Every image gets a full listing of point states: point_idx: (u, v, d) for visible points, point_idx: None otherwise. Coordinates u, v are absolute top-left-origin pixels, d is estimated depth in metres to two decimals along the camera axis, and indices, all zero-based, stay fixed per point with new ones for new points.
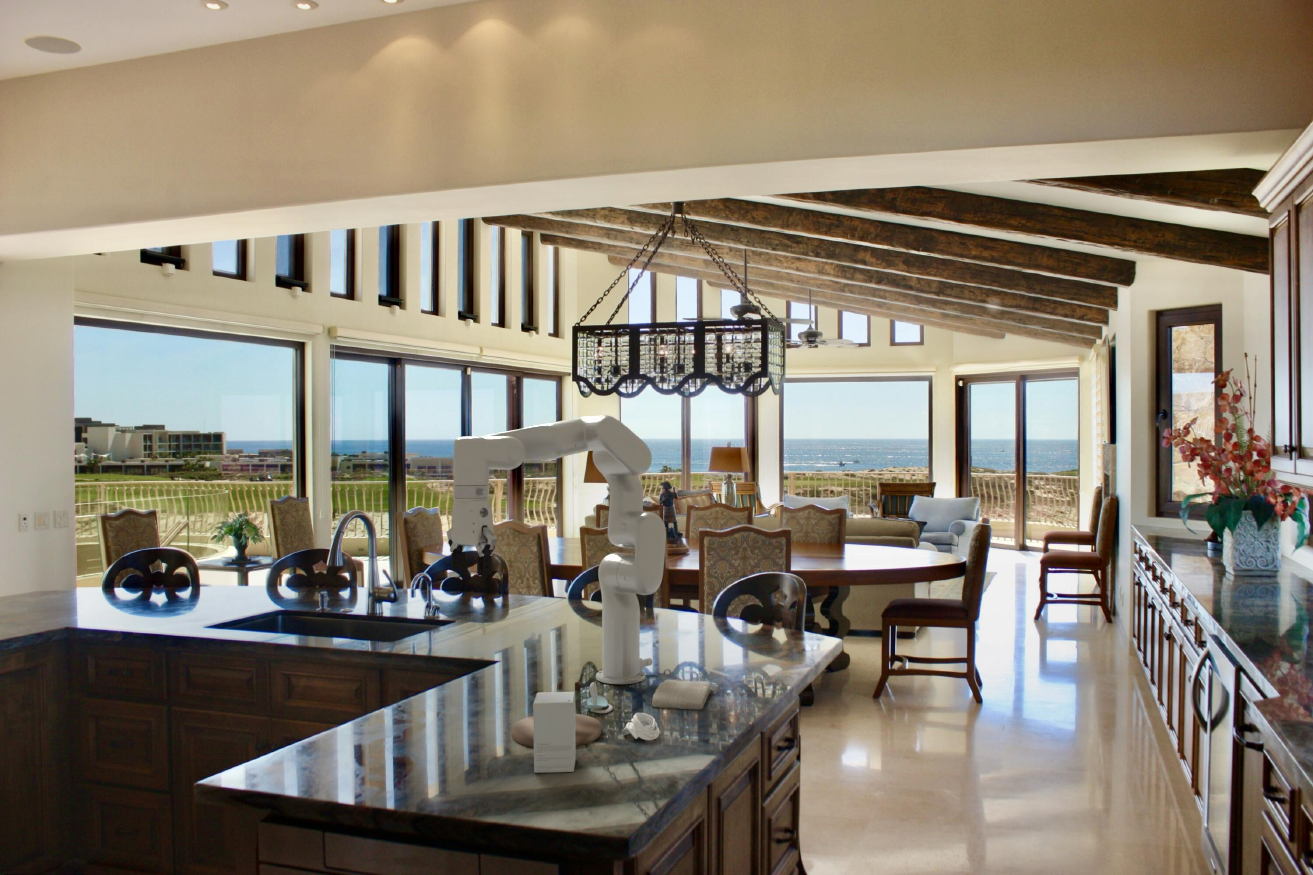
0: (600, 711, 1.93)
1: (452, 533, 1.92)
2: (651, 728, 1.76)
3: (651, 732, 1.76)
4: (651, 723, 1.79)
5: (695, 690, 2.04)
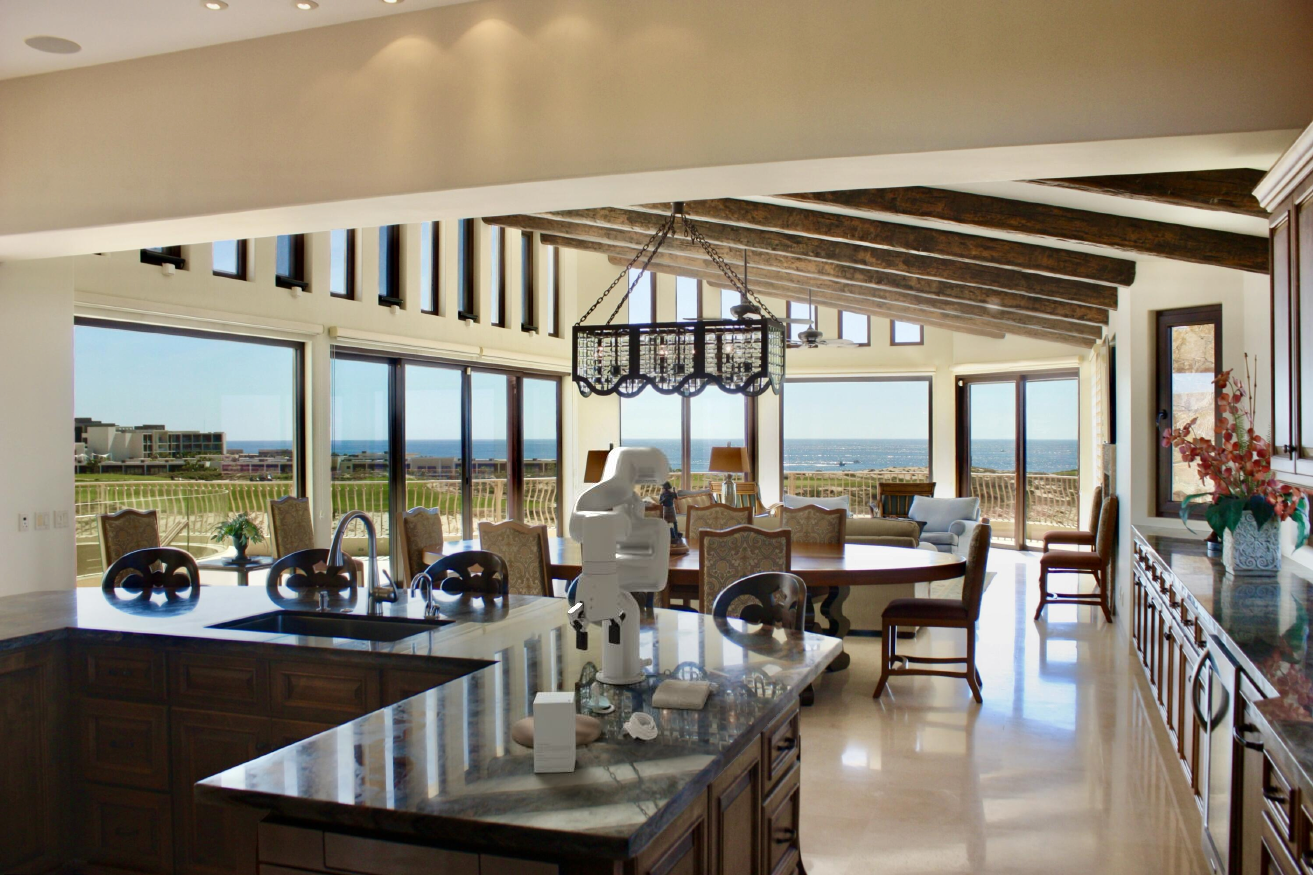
0: (602, 711, 1.93)
1: (591, 611, 1.91)
2: (649, 727, 1.76)
3: (649, 731, 1.76)
4: (649, 723, 1.79)
5: (695, 690, 2.04)
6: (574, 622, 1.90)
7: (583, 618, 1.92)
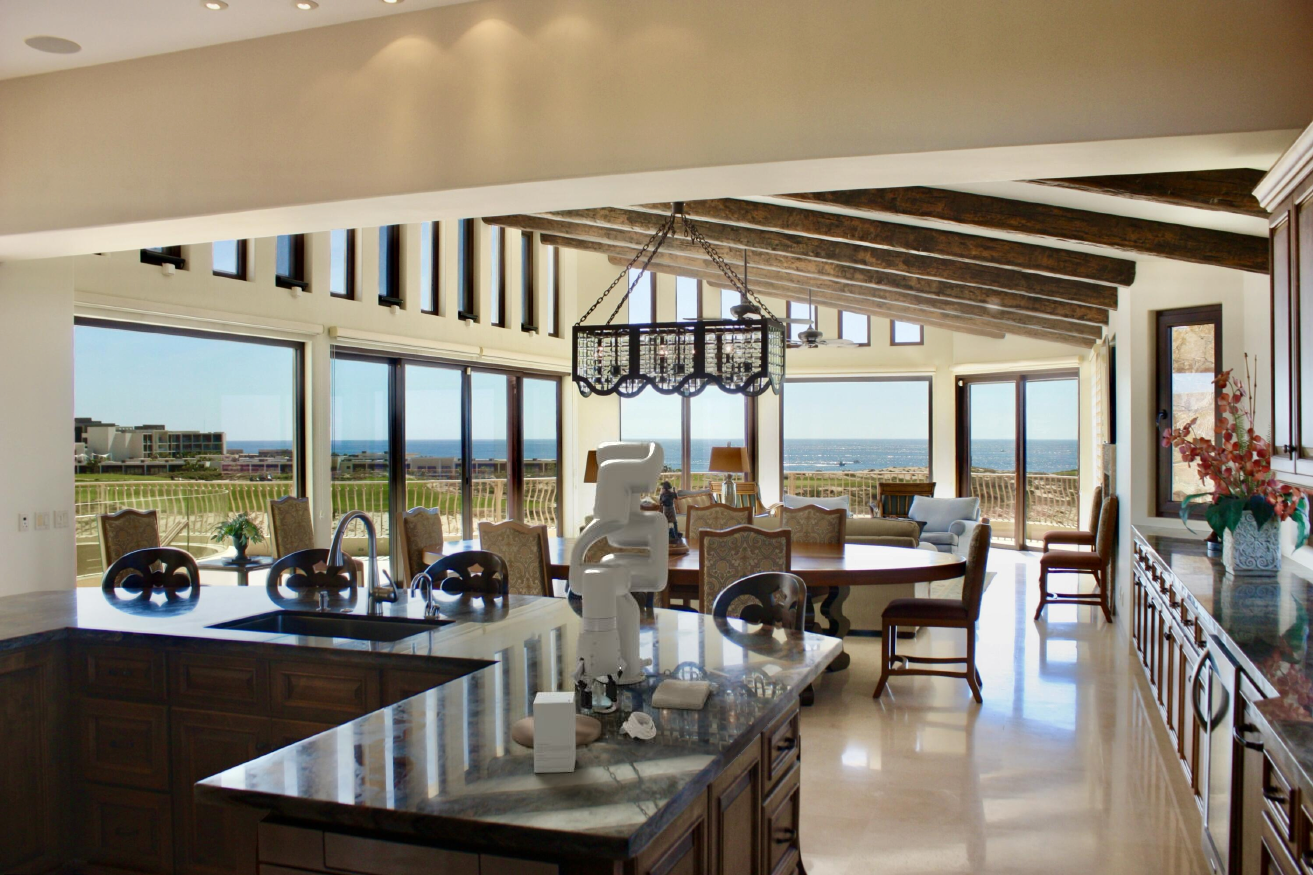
0: (604, 710, 1.93)
1: (592, 668, 1.91)
2: (648, 727, 1.77)
3: (648, 731, 1.76)
4: (648, 722, 1.80)
5: (695, 690, 2.04)
6: (578, 683, 1.91)
7: (586, 677, 1.93)
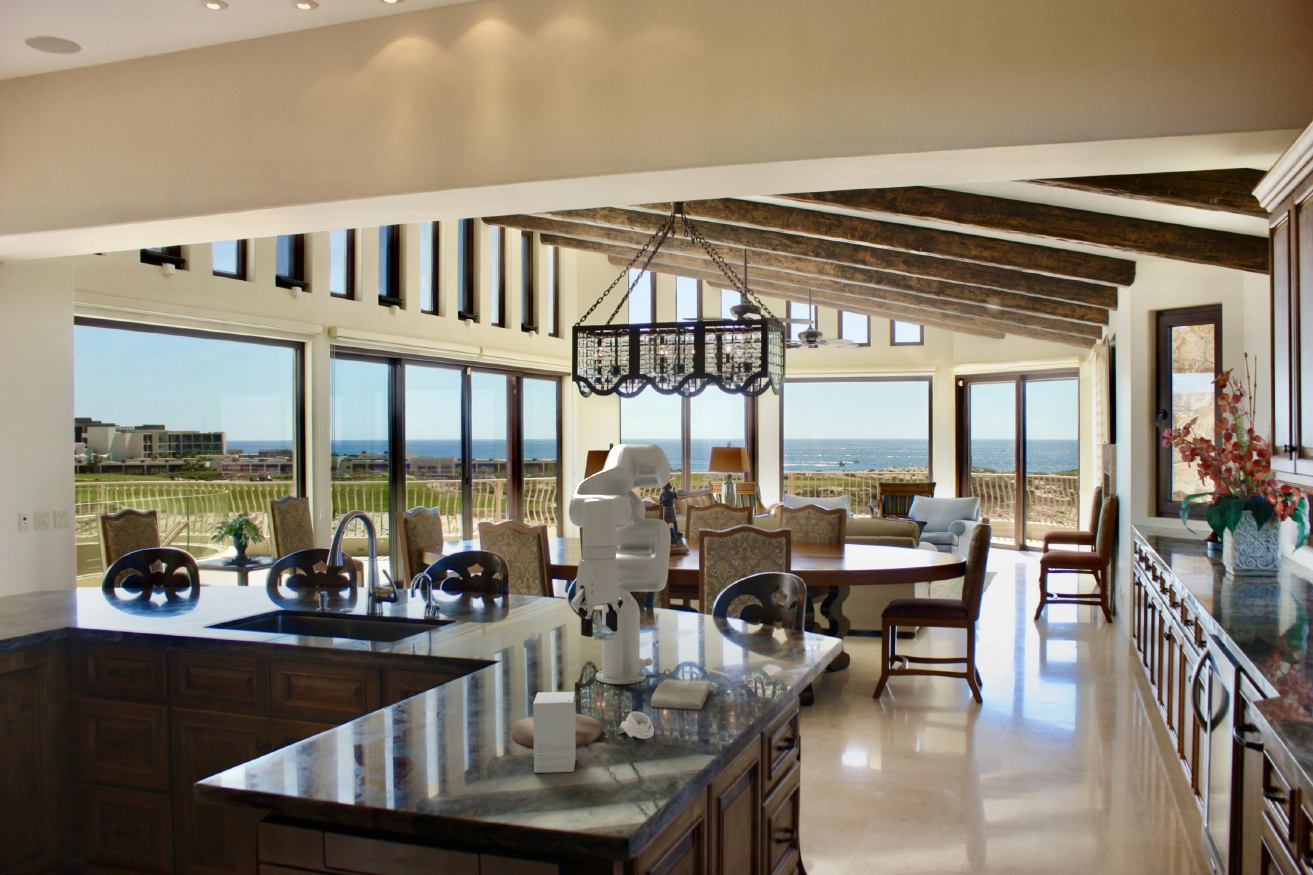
0: (605, 638, 1.93)
1: (592, 596, 1.92)
2: (646, 727, 1.77)
3: (646, 731, 1.76)
4: (646, 722, 1.80)
5: (694, 690, 2.04)
6: (579, 610, 1.91)
7: (586, 605, 1.93)
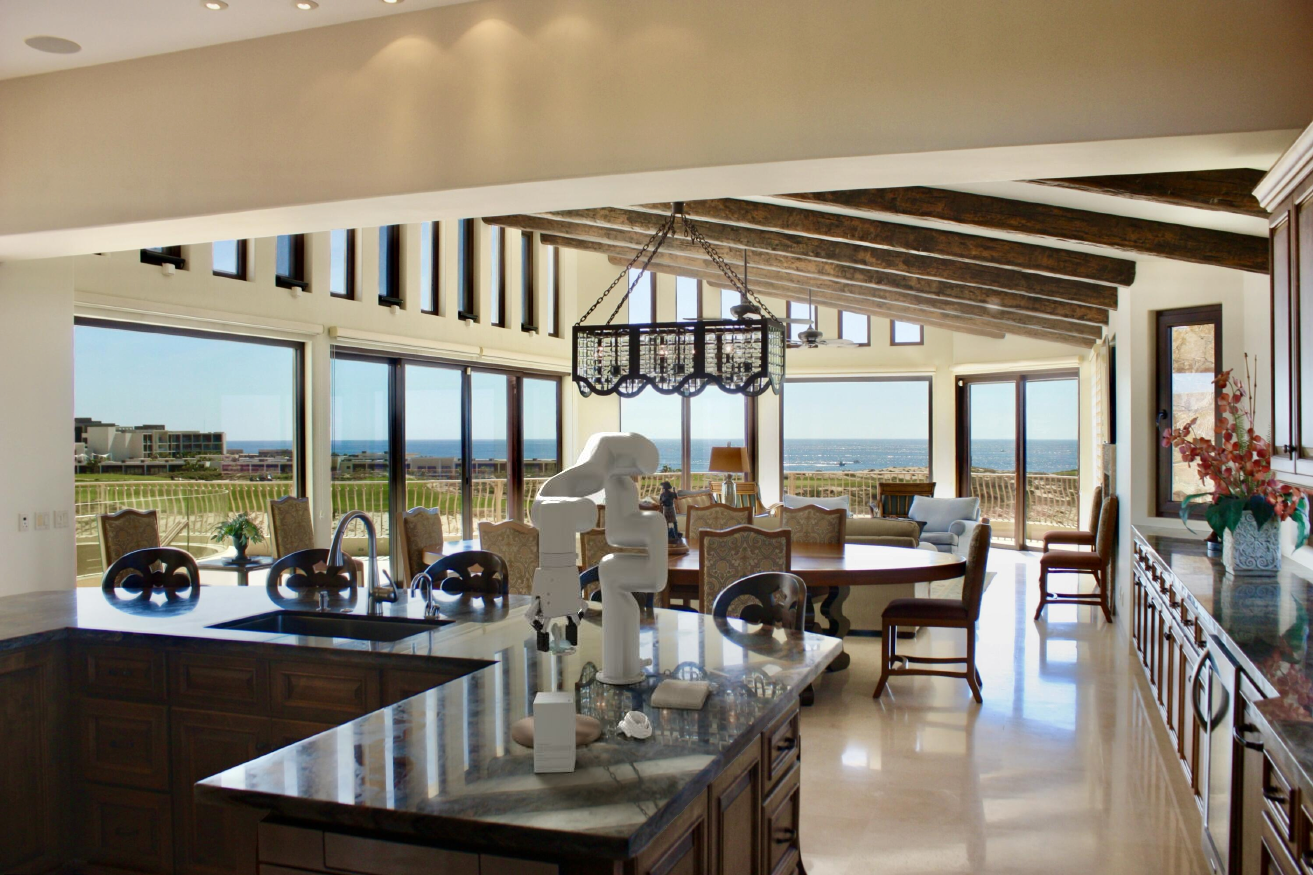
0: (562, 653, 1.77)
1: (548, 607, 1.75)
2: (644, 726, 1.77)
3: (644, 730, 1.77)
4: (644, 721, 1.80)
5: (694, 690, 2.04)
6: (534, 623, 1.75)
7: (542, 617, 1.77)
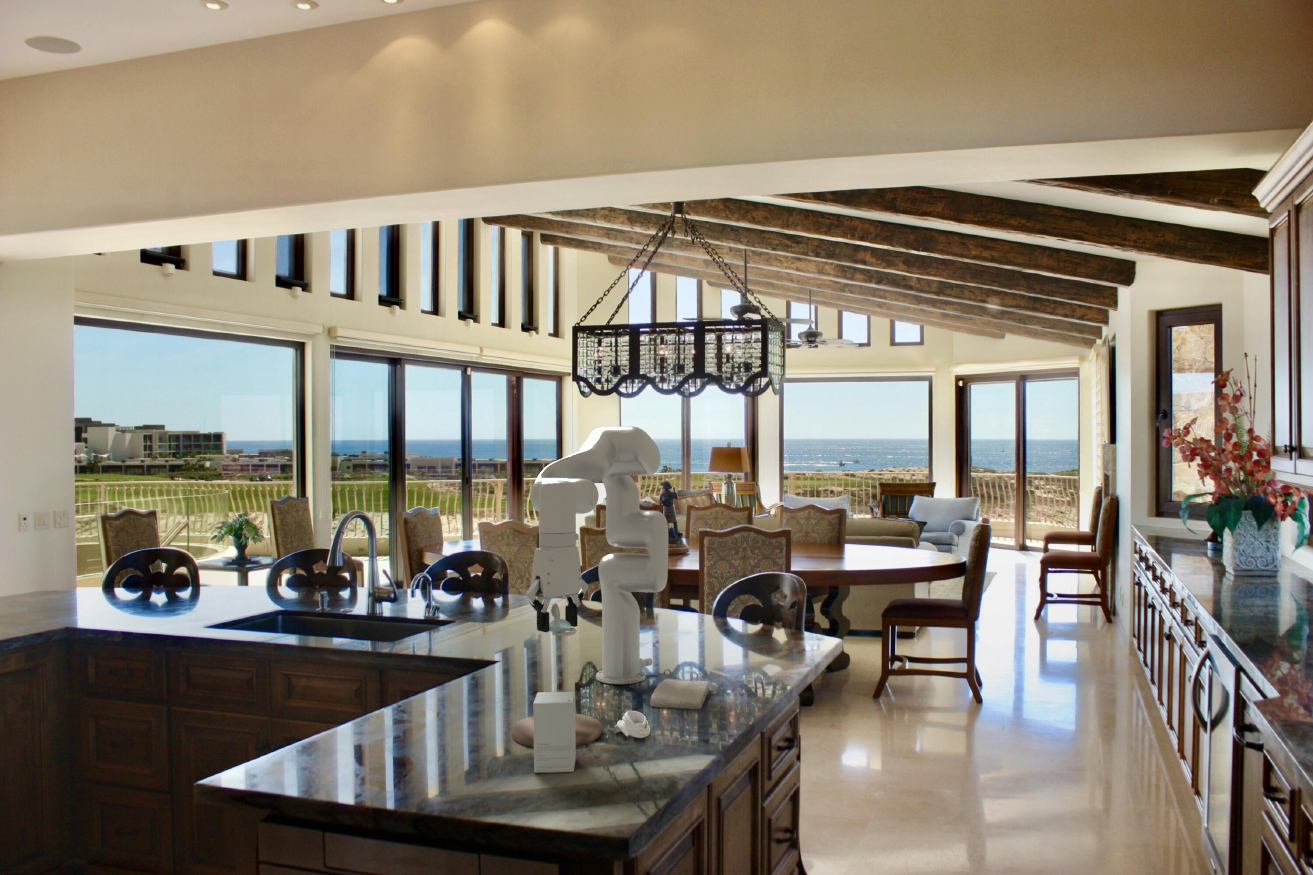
0: (562, 633, 1.77)
1: (548, 587, 1.76)
2: (642, 726, 1.78)
3: (642, 730, 1.77)
4: (642, 721, 1.81)
5: (694, 690, 2.04)
6: (534, 603, 1.75)
7: (542, 597, 1.77)
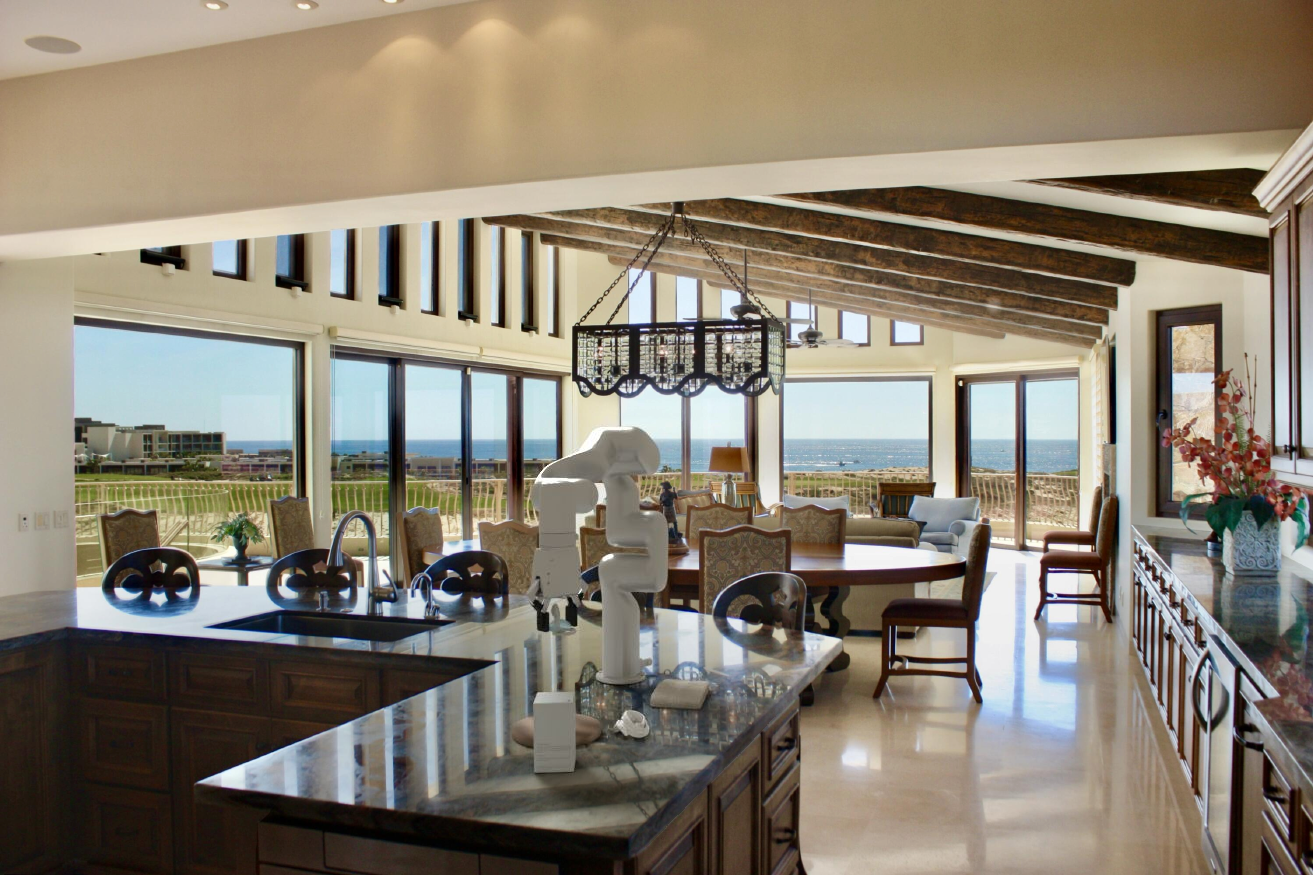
0: (562, 633, 1.77)
1: (548, 587, 1.76)
2: (641, 725, 1.78)
3: (641, 729, 1.77)
4: (641, 721, 1.81)
5: (693, 690, 2.04)
6: (534, 603, 1.75)
7: (542, 597, 1.77)
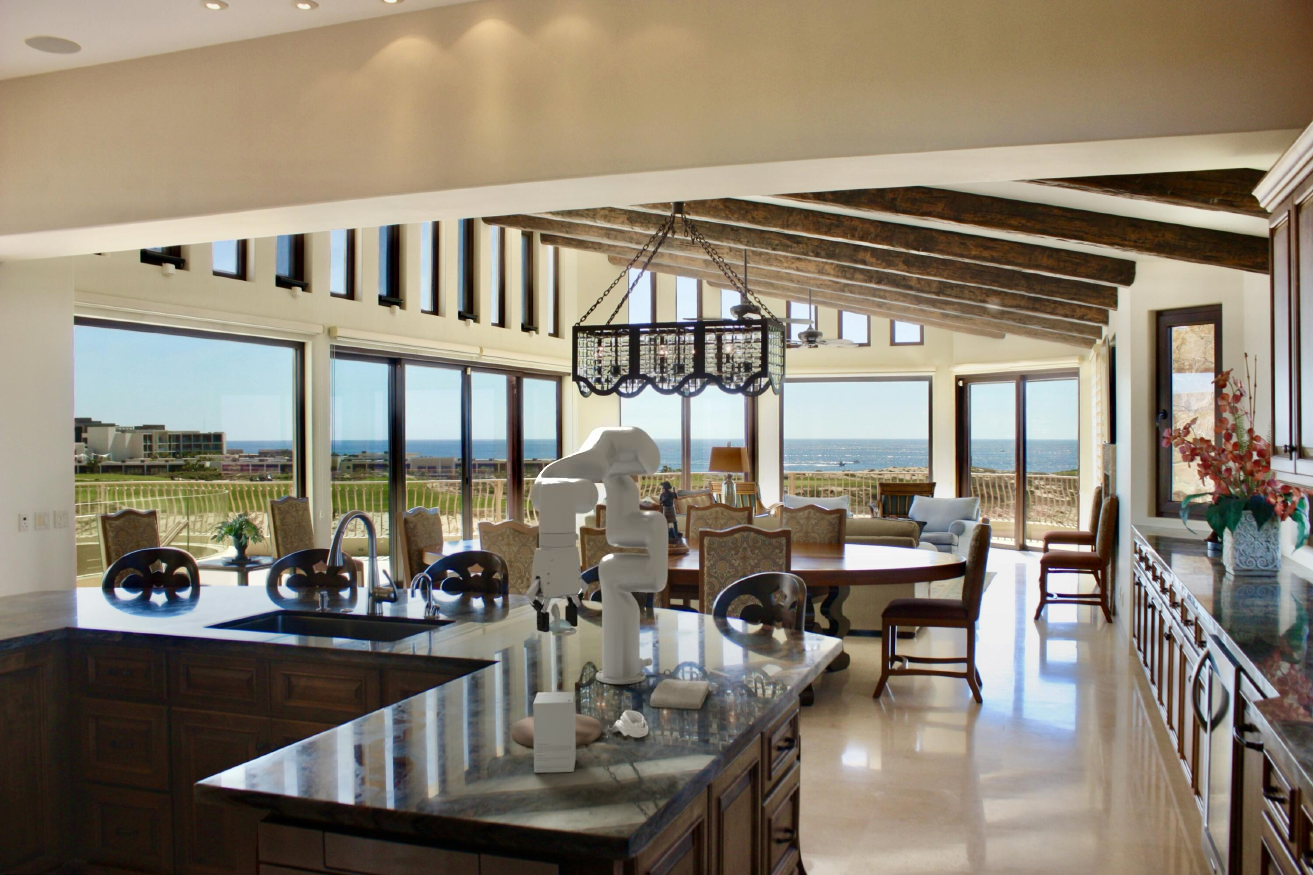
0: (562, 633, 1.77)
1: (548, 587, 1.76)
2: (640, 725, 1.78)
3: (640, 729, 1.77)
4: (640, 720, 1.81)
5: (693, 690, 2.04)
6: (534, 603, 1.75)
7: (542, 597, 1.77)
